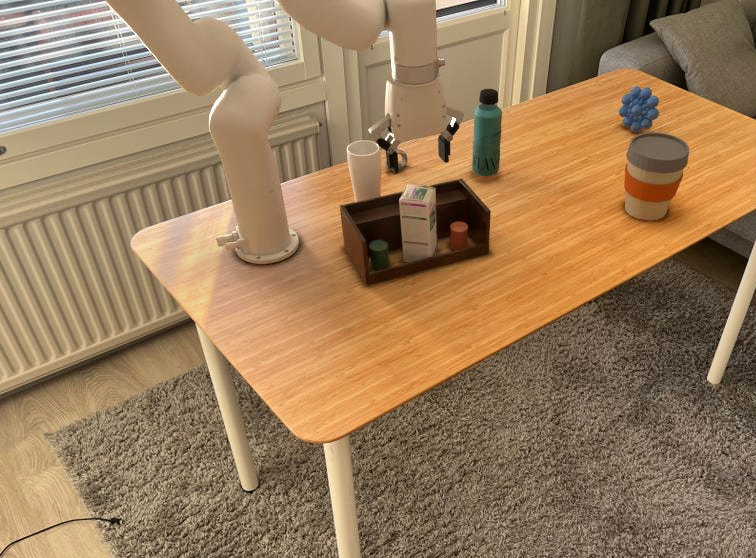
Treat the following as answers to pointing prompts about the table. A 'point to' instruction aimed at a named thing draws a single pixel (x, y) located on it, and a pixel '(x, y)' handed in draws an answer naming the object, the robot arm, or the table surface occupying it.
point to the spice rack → (384, 224)
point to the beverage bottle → (487, 134)
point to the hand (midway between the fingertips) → (419, 164)
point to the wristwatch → (404, 160)
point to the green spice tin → (379, 255)
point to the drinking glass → (364, 169)
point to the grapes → (639, 109)
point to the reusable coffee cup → (653, 173)
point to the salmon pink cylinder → (458, 236)
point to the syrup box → (418, 222)
